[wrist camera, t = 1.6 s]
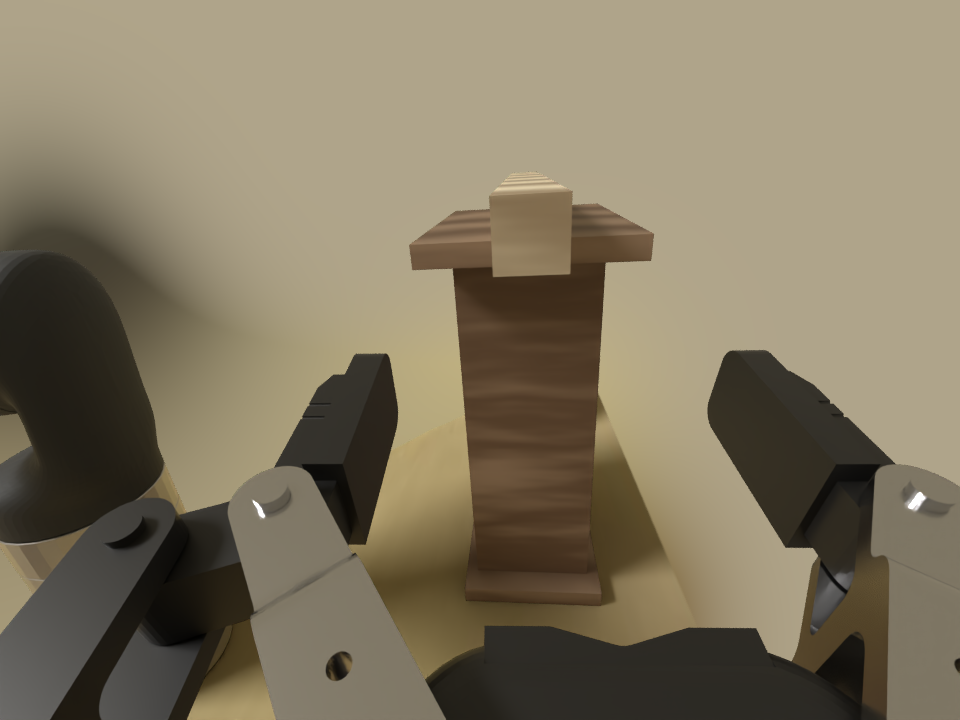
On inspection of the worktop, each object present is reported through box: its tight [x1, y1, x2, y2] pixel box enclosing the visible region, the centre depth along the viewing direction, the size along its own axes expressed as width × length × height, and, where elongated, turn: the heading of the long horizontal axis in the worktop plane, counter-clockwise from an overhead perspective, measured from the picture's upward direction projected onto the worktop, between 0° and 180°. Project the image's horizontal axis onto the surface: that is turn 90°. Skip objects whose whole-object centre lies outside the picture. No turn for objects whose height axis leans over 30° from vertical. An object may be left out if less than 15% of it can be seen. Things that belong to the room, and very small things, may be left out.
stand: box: [409, 204, 654, 606], centre depth 41 cm, size 20×14×32 cm
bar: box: [489, 172, 572, 277], centre depth 35 cm, size 40×3×3 cm, turn 175°
